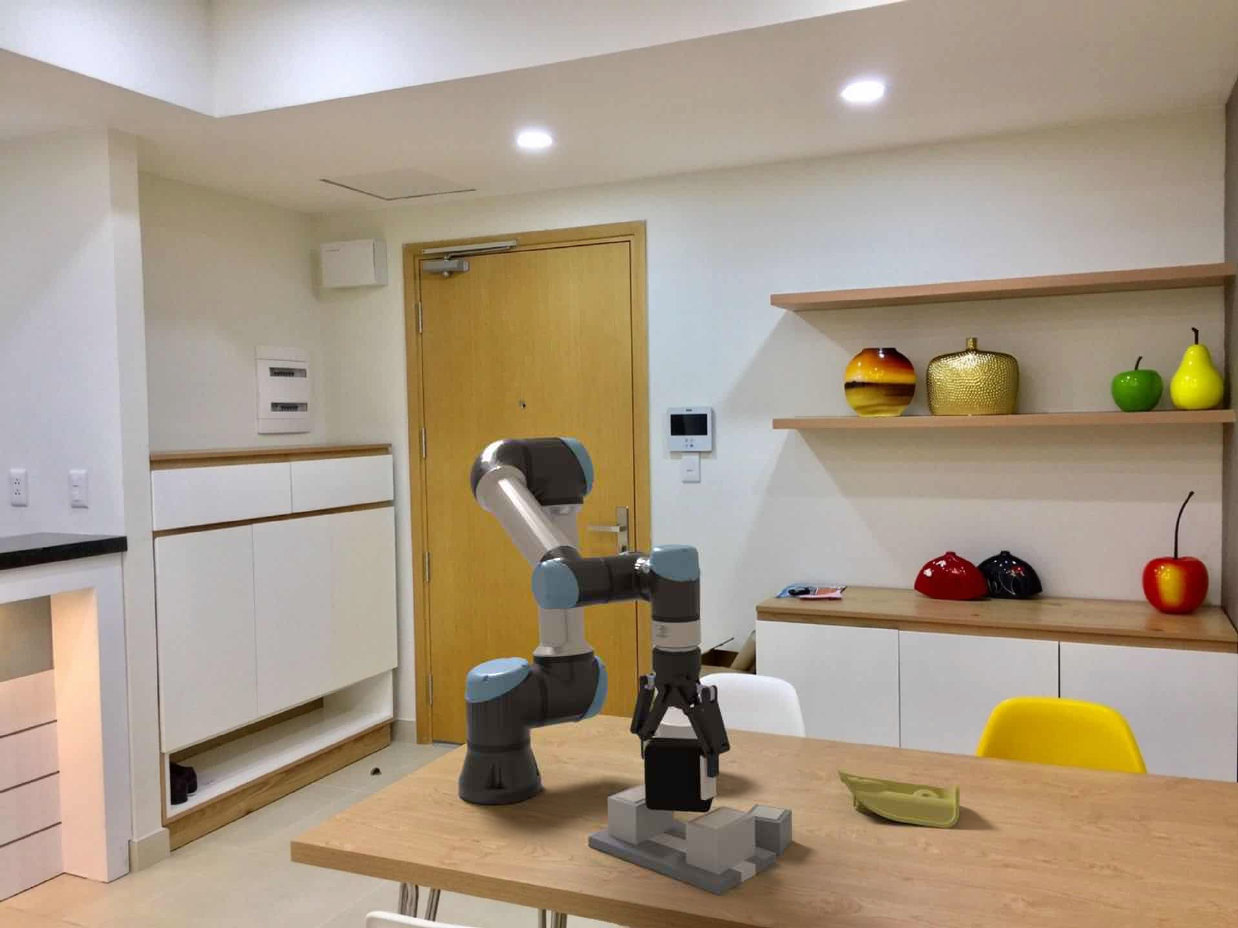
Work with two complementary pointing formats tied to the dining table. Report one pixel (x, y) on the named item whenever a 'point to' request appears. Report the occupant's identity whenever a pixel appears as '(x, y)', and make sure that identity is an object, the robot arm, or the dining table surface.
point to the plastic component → (905, 800)
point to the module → (772, 827)
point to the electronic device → (674, 775)
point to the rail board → (683, 842)
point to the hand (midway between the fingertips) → (679, 788)
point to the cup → (675, 725)
